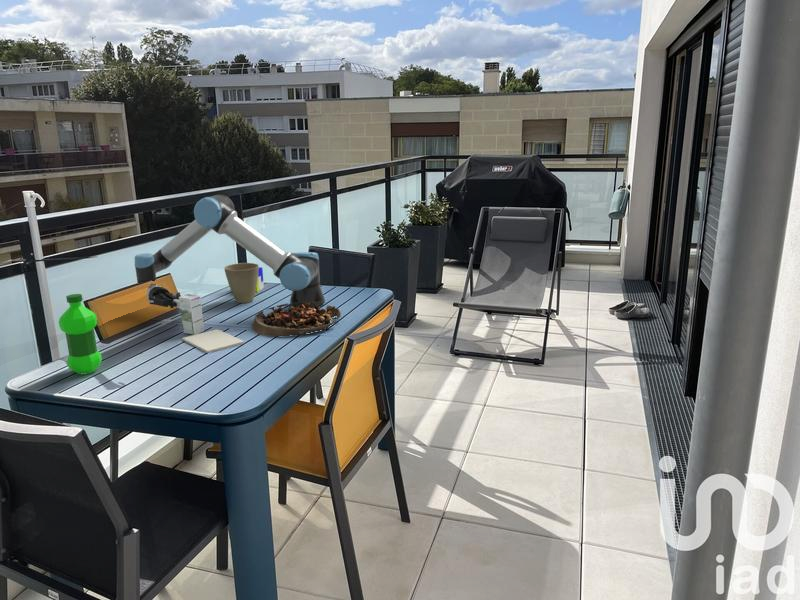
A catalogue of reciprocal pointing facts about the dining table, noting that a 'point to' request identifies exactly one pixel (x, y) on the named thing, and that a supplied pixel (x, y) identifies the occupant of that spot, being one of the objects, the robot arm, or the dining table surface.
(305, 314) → the food dish
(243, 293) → the plant pot
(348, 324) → the dining table surface
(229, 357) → the dining table surface
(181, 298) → the syrup box
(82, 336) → the plastic bottle
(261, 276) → the puzzle toy
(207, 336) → the mat
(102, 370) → the dining table surface
